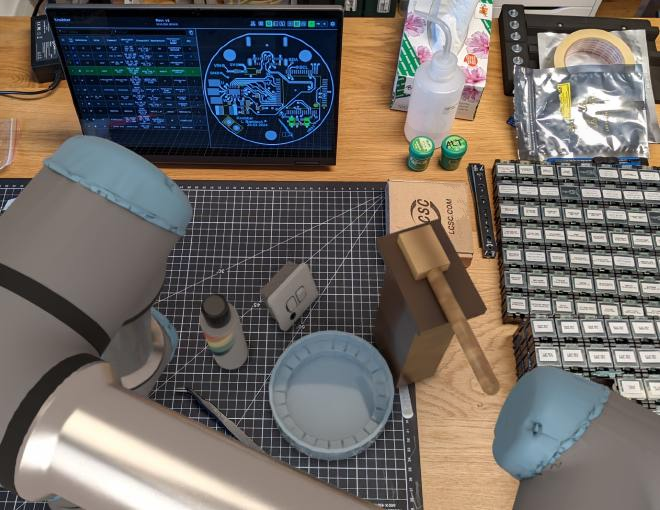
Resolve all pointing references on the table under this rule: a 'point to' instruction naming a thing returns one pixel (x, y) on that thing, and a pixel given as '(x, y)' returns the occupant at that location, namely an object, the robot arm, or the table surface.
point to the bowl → (331, 394)
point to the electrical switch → (289, 293)
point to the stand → (418, 310)
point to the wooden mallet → (446, 297)
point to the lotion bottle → (223, 331)
